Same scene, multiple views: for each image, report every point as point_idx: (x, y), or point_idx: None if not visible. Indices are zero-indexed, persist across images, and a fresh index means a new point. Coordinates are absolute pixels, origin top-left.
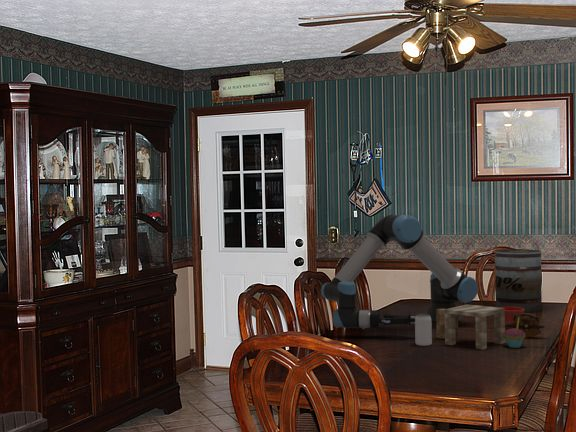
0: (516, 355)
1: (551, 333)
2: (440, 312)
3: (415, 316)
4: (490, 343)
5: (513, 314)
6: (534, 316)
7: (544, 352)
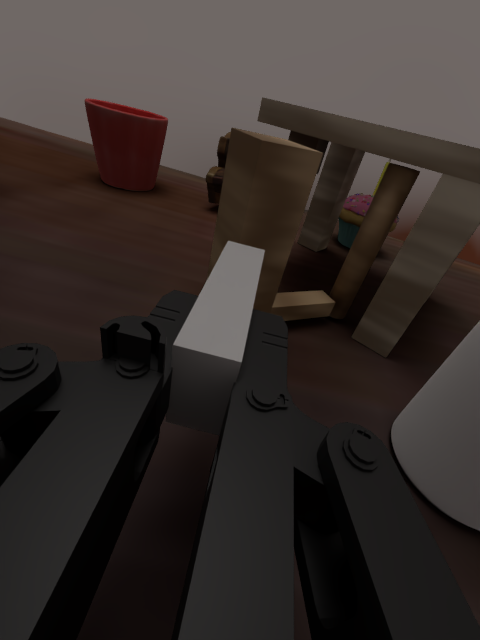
0: (461, 273)
1: (192, 176)
2: (313, 173)
3: (198, 298)
4: (322, 258)
5: (164, 133)
6: None
7: (398, 239)
